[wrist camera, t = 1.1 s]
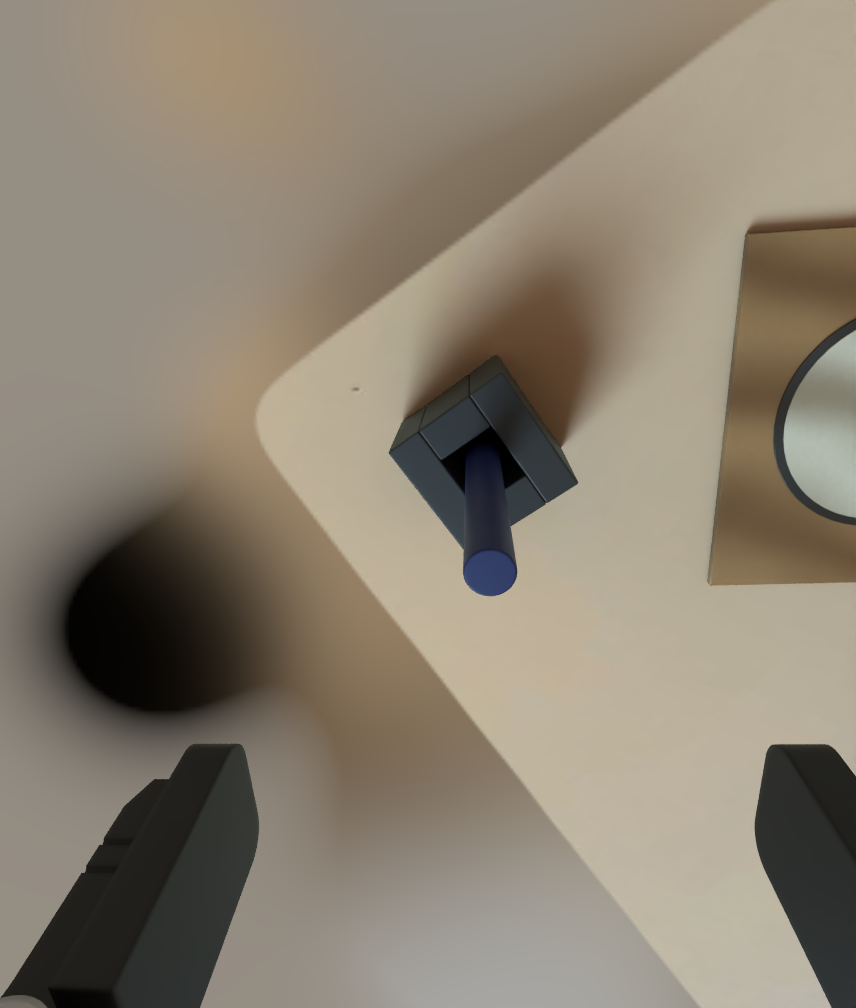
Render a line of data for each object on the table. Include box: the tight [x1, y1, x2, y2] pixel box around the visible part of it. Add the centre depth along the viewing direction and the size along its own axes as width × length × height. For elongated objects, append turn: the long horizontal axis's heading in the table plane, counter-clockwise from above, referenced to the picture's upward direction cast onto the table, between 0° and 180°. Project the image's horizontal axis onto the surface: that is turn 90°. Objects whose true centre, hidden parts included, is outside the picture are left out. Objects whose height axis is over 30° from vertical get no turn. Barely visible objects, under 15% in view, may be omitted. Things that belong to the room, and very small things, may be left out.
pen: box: [463, 428, 517, 596], centre depth 23 cm, size 1×1×14 cm
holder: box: [389, 355, 578, 549], centre depth 27 cm, size 5×5×5 cm
